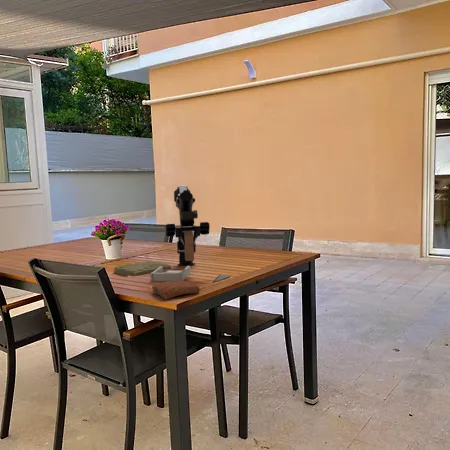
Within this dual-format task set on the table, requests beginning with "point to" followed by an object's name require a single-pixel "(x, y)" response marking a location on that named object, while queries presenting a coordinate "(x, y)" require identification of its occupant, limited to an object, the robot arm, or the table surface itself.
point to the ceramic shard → (174, 288)
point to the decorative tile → (140, 268)
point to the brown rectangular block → (189, 245)
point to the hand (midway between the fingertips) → (189, 244)
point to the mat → (220, 278)
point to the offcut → (173, 271)
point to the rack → (169, 275)
